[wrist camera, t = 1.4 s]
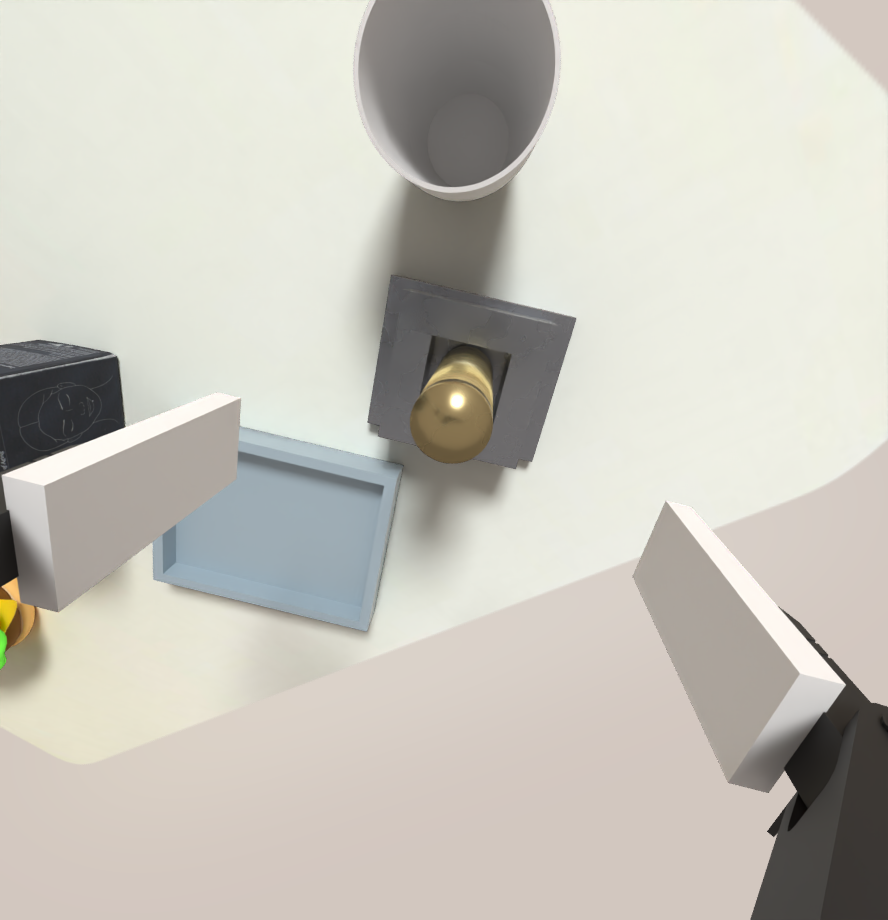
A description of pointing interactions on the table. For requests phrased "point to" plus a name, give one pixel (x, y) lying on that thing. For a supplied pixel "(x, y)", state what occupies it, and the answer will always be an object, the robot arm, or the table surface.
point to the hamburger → (13, 618)
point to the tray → (289, 531)
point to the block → (485, 328)
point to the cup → (456, 88)
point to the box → (55, 398)
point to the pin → (455, 408)
